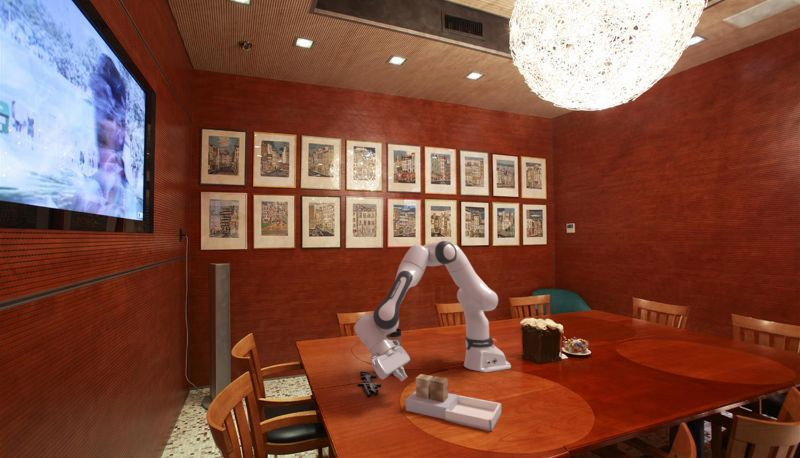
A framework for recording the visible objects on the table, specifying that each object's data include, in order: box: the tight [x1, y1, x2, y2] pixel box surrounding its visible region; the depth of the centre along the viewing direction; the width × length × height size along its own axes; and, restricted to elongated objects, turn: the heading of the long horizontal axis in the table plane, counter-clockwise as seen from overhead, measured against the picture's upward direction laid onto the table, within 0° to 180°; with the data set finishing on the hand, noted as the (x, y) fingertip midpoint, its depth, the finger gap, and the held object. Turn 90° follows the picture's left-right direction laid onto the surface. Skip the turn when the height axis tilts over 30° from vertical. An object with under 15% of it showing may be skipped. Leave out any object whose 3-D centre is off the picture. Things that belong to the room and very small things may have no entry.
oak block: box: [415, 373, 434, 399], centre depth 140 cm, size 5×4×7 cm
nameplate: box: [357, 370, 382, 399], centre depth 163 cm, size 28×2×10 cm
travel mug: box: [386, 327, 403, 376], centre depth 177 cm, size 8×8×20 cm
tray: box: [444, 394, 503, 432], centre depth 131 cm, size 16×14×4 cm
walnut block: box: [430, 376, 449, 402], centre depth 137 cm, size 5×4×7 cm
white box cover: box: [405, 390, 459, 420], centre depth 138 cm, size 16×12×4 cm
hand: (404, 379), depth 144 cm, fingers closed
